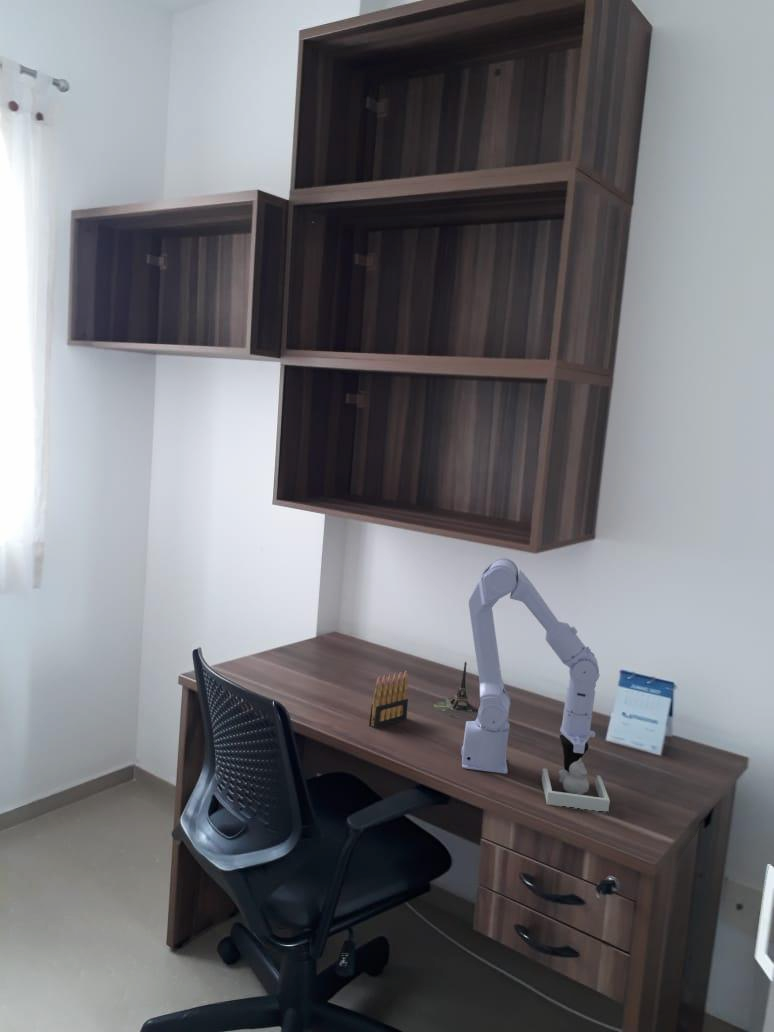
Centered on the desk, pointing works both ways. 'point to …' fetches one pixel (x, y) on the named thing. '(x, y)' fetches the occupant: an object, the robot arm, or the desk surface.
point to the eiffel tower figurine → (456, 699)
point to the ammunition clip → (389, 701)
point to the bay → (576, 796)
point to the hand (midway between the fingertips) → (569, 771)
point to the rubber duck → (575, 778)
